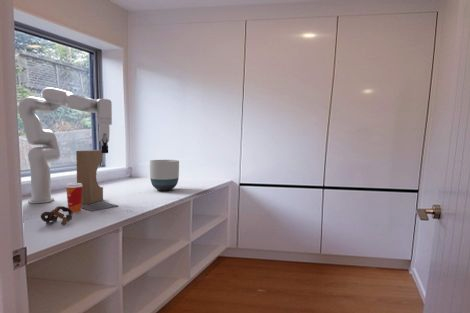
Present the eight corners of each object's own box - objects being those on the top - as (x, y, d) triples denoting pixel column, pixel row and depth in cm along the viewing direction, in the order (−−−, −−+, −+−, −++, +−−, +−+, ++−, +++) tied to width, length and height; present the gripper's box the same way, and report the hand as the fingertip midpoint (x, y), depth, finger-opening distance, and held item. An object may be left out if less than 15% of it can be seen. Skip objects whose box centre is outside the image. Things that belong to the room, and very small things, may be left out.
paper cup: (67, 209, 154) (66, 183, 153) (84, 208, 157) (83, 182, 156) (64, 213, 147) (64, 185, 146) (82, 212, 150) (81, 184, 149)
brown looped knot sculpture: (61, 220, 137) (69, 205, 137) (69, 232, 132) (78, 217, 131) (33, 219, 127) (42, 203, 126) (41, 232, 122) (50, 216, 121)
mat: (78, 207, 160) (78, 206, 160) (105, 202, 172) (105, 201, 172) (91, 211, 152) (91, 210, 152) (118, 206, 163) (118, 205, 163)
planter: (151, 188, 224) (151, 159, 222) (179, 187, 227) (179, 159, 226) (148, 193, 204) (148, 161, 202) (179, 192, 207) (179, 161, 206)
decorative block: (89, 204, 167) (88, 151, 165) (76, 204, 167) (75, 150, 165) (103, 199, 182) (102, 150, 180) (91, 199, 182) (90, 149, 180)
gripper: (97, 122, 171) (97, 152, 172) (96, 120, 155) (97, 153, 156) (111, 122, 174) (111, 152, 175) (112, 121, 158) (112, 153, 160)
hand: (104, 152), depth 166 cm, fingers open, 9 cm apart
